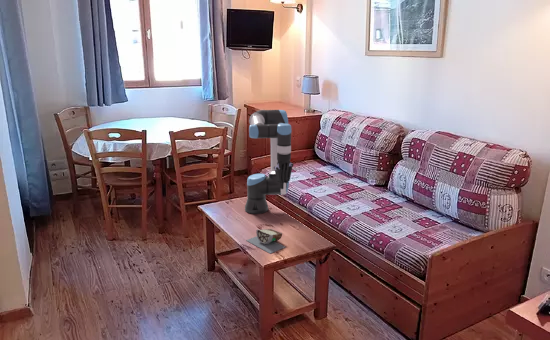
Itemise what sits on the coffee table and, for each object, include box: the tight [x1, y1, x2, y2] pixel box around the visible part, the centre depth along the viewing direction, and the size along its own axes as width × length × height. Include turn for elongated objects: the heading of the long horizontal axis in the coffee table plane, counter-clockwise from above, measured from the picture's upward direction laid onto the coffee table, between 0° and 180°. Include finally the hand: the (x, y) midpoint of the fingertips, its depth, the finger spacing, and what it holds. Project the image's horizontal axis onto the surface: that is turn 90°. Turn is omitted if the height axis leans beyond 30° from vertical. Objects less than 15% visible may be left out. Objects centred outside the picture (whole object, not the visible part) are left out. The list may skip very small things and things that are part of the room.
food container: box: [255, 228, 283, 244], centre depth 237 cm, size 12×6×10 cm
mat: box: [245, 235, 286, 255], centre depth 236 cm, size 11×20×1 cm, turn 42°
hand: (283, 193), depth 241 cm, fingers closed
